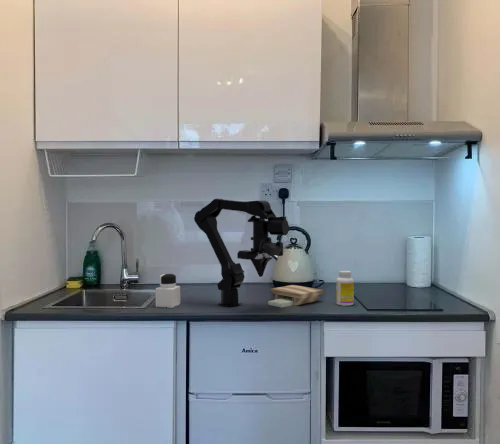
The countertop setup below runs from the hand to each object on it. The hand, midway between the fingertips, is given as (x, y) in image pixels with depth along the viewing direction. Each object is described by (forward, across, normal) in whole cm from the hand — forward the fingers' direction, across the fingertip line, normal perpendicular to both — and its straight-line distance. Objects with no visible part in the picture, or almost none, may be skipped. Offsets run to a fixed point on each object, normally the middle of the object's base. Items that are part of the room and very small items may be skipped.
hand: (260, 276), depth 179 cm
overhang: (+12, +20, 0) cm, 23 cm away
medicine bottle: (+12, -22, +28) cm, 38 cm away
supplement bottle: (+12, +29, -17) cm, 36 cm away
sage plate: (+12, +14, 0) cm, 19 cm away
